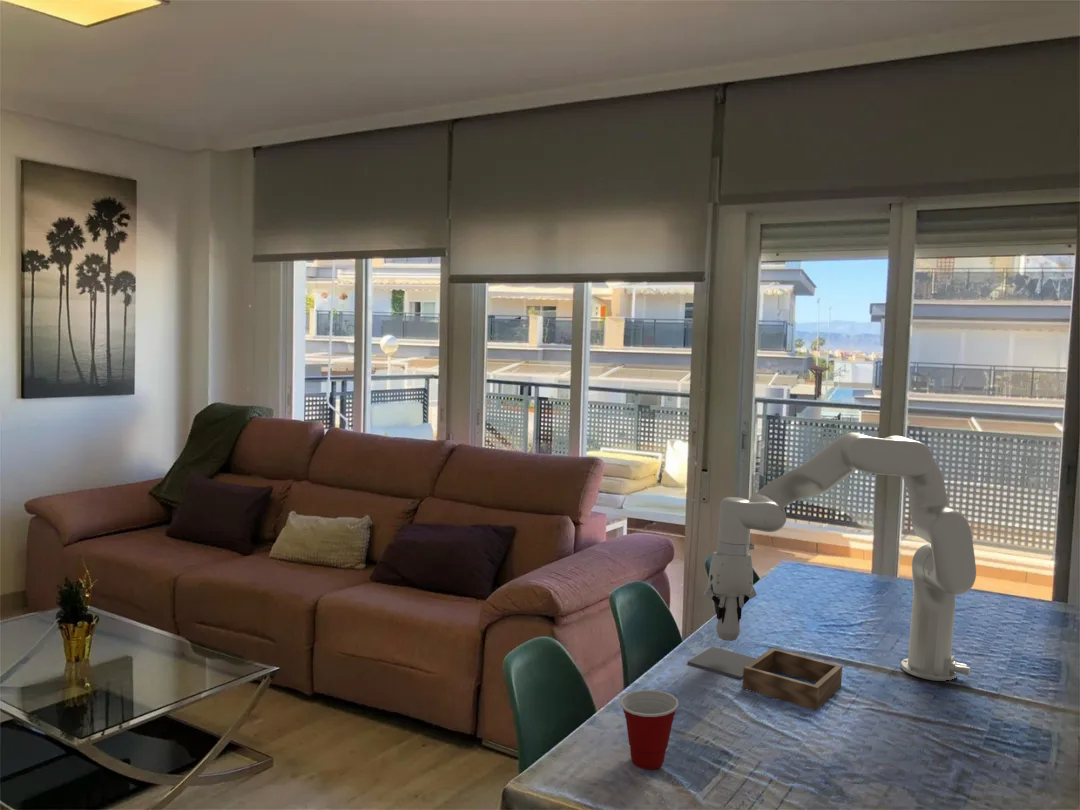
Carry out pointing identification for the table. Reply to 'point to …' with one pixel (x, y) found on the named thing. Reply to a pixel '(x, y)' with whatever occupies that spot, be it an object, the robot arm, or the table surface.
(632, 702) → the plastic cup
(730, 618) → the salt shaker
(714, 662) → the coaster
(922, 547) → the robot arm
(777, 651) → the frame
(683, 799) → the table surface
